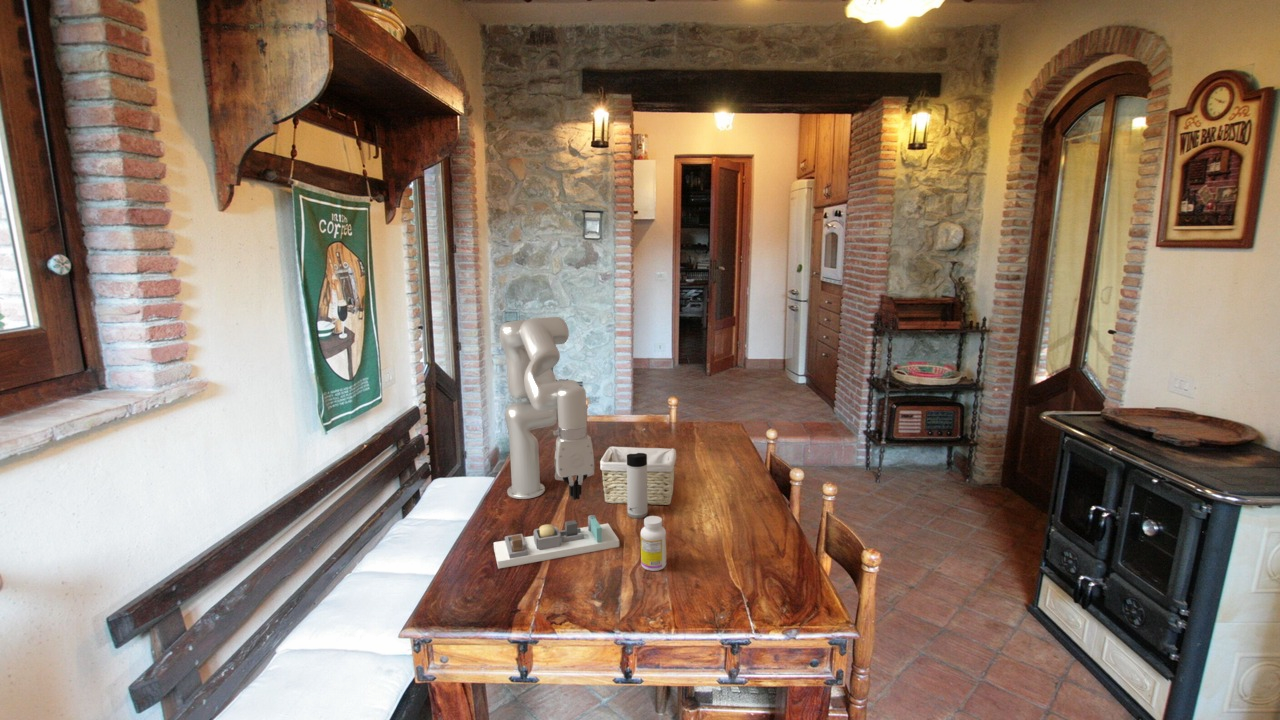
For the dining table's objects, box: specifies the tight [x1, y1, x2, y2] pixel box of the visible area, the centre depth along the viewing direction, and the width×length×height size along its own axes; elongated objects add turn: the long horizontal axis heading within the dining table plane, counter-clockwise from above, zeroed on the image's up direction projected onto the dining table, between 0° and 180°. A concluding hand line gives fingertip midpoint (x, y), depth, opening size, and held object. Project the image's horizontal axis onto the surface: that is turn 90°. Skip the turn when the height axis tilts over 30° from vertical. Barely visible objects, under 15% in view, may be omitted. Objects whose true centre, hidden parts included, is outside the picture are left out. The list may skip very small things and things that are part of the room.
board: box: [493, 522, 620, 570], centre depth 164 cm, size 11×33×6 cm, turn 109°
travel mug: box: [627, 453, 649, 519], centre depth 183 cm, size 6×7×20 cm
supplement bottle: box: [640, 515, 667, 572], centre depth 154 cm, size 7×7×13 cm
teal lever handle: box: [587, 514, 602, 542], centre depth 167 cm, size 9×2×4 cm, turn 19°
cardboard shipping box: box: [512, 533, 523, 552], centre depth 158 cm, size 3×2×4 cm
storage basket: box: [599, 446, 677, 506], centre depth 198 cm, size 24×16×15 cm
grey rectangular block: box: [564, 519, 578, 537], centre depth 167 cm, size 2×3×4 cm
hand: (575, 497), depth 161 cm, fingers closed
